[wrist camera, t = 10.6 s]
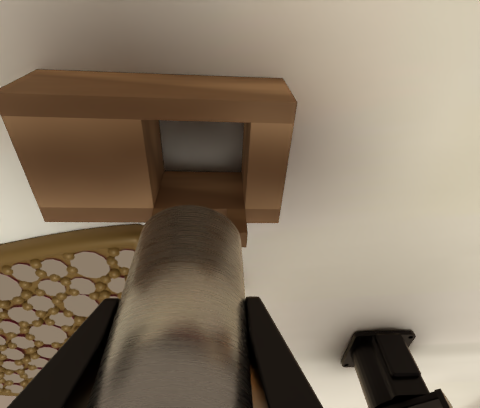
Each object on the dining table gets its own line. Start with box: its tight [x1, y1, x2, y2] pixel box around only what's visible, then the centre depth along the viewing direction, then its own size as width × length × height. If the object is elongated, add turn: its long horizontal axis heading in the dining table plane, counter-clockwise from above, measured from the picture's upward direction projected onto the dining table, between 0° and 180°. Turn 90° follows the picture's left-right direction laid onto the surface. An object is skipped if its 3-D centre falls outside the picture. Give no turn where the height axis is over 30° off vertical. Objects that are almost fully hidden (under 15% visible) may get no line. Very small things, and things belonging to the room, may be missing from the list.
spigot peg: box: [86, 205, 253, 408], centre depth 8 cm, size 4×4×8 cm
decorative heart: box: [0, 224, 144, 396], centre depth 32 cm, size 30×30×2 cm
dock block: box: [0, 69, 297, 247], centre depth 16 cm, size 7×13×6 cm, turn 87°
